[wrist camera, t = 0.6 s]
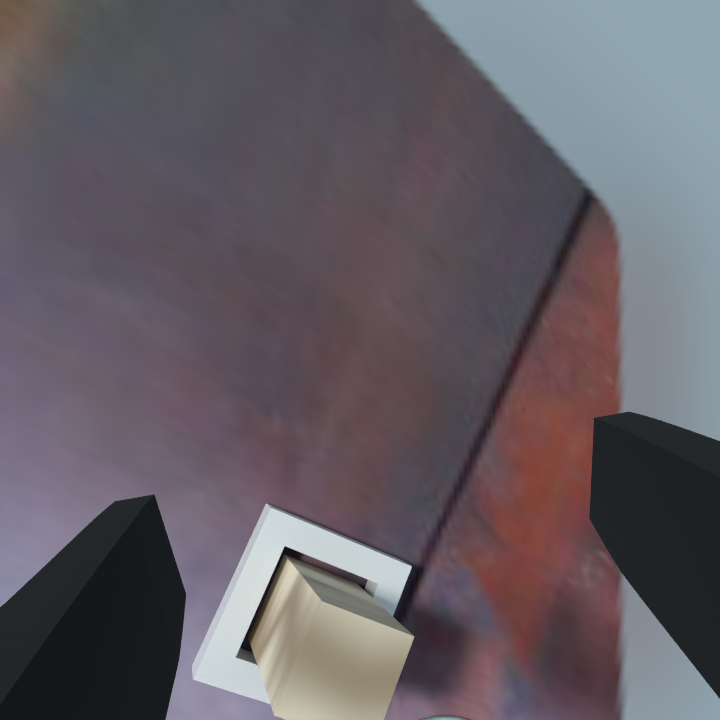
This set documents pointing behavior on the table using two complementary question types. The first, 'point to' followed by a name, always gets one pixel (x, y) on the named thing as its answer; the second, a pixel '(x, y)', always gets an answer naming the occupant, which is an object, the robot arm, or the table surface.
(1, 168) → the table surface
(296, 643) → the maple block
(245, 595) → the frame
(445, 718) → the coaster
